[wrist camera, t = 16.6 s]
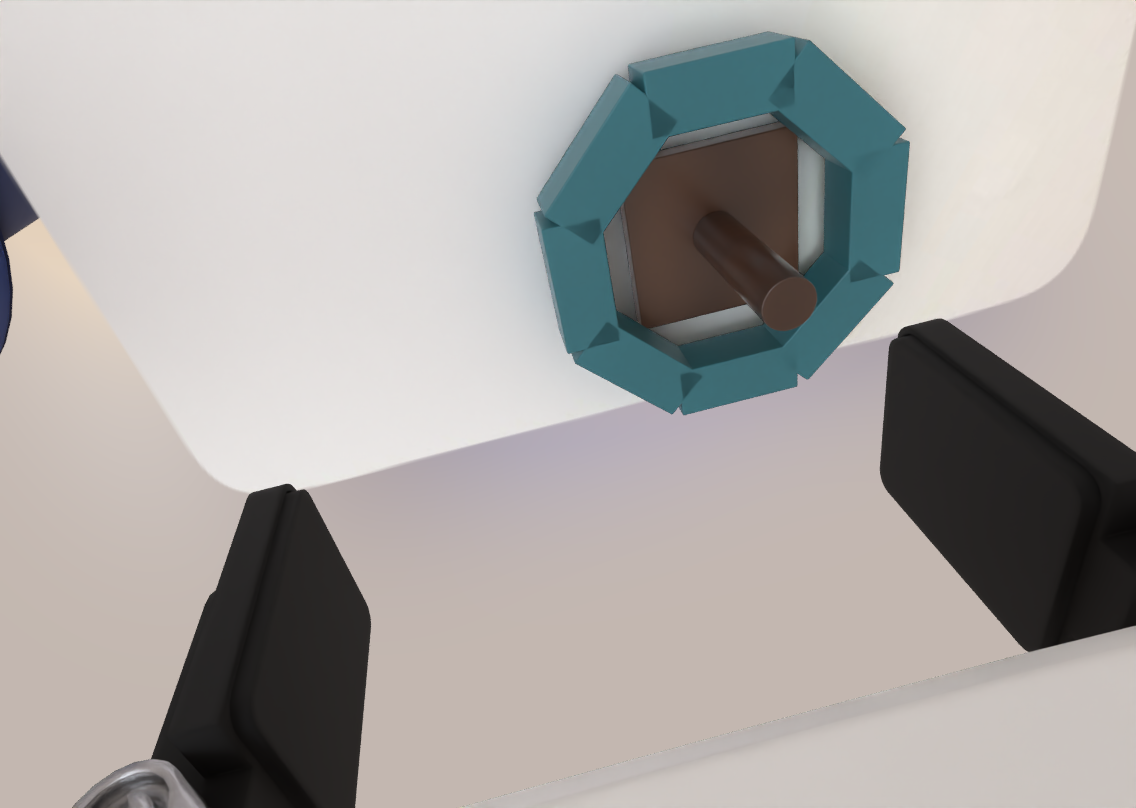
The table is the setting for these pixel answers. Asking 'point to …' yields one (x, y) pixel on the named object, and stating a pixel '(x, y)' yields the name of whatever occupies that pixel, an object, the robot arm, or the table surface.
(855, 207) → the ring
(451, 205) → the table surface
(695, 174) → the holder
